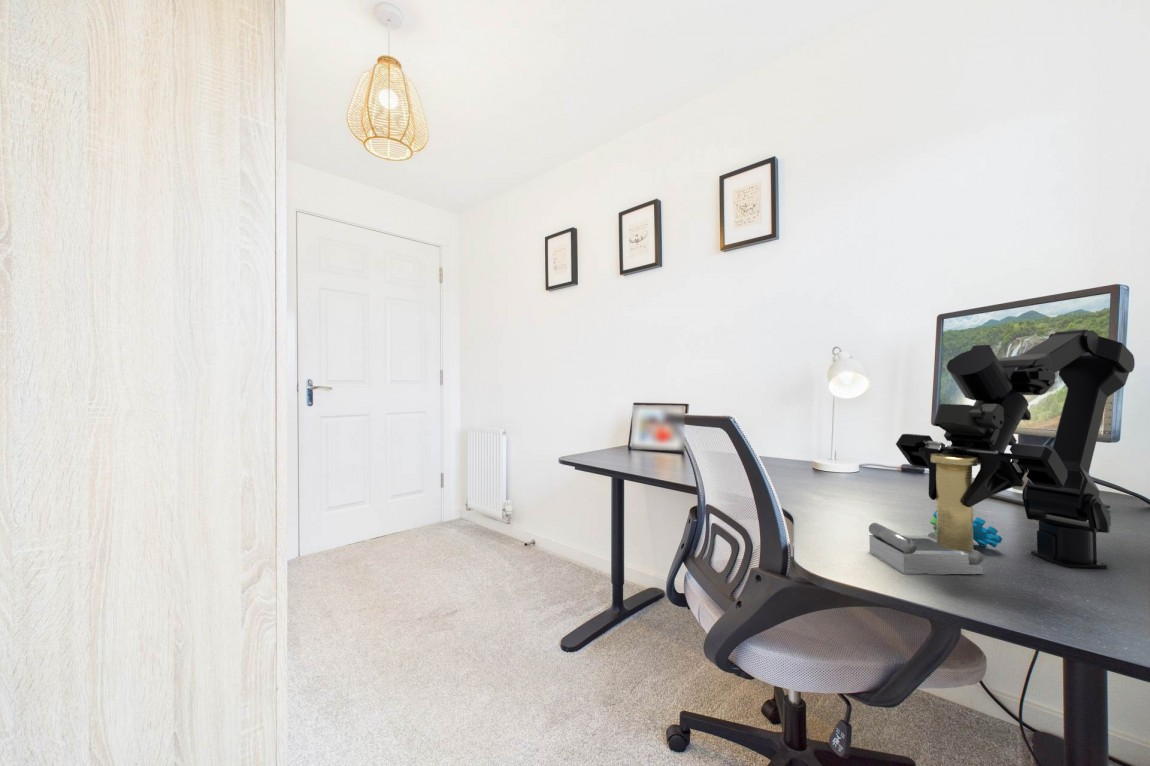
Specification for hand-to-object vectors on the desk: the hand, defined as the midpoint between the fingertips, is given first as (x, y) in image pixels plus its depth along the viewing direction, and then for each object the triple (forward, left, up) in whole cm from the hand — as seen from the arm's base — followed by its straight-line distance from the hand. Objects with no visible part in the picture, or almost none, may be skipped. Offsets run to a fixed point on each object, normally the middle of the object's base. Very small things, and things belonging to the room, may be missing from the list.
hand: (948, 501), depth 64 cm
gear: (-18, -20, -14) cm, 30 cm away
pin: (-1, -1, -7) cm, 7 cm away
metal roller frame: (-4, -12, -13) cm, 18 cm away
